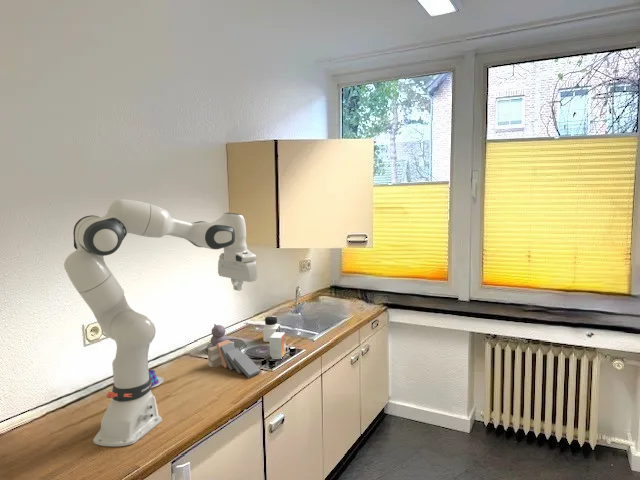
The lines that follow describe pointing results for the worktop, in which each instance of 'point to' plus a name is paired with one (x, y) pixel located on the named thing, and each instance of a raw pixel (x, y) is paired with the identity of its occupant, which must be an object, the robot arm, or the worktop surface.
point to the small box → (277, 344)
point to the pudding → (154, 378)
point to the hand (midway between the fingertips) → (237, 290)
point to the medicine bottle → (270, 327)
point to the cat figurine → (218, 334)
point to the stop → (214, 356)
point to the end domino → (221, 352)
